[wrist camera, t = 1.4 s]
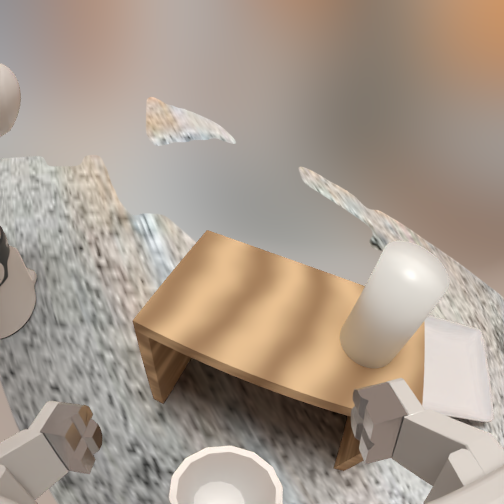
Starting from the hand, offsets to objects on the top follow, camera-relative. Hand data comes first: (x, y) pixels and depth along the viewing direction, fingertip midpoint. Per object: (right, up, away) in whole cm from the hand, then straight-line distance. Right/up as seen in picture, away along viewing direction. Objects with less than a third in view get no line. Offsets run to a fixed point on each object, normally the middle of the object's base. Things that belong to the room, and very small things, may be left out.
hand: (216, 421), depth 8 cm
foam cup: (-3, -25, +21) cm, 32 cm away
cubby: (+3, -15, +33) cm, 36 cm away
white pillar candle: (+12, -4, +20) cm, 24 cm away
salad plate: (+34, -17, +39) cm, 54 cm away
